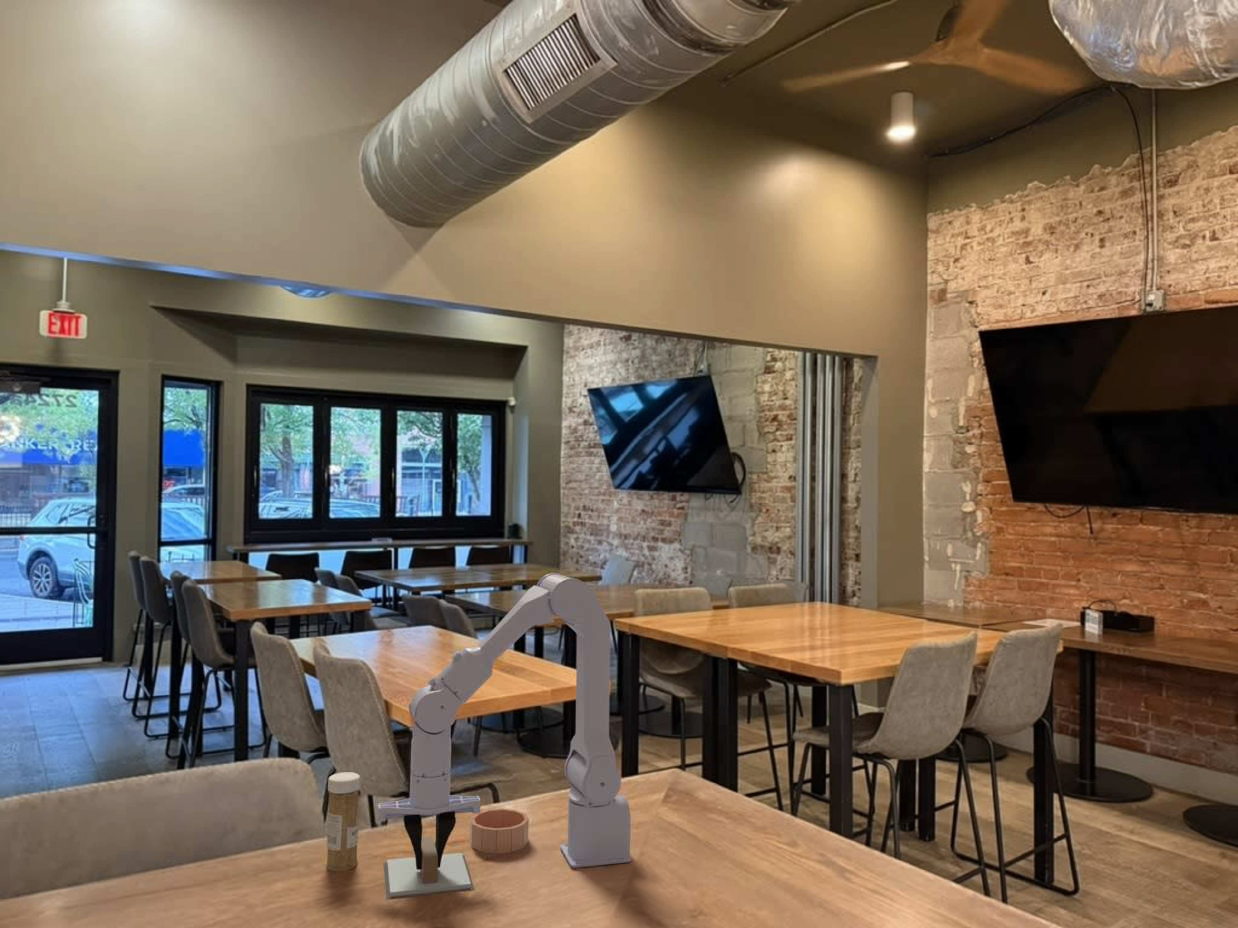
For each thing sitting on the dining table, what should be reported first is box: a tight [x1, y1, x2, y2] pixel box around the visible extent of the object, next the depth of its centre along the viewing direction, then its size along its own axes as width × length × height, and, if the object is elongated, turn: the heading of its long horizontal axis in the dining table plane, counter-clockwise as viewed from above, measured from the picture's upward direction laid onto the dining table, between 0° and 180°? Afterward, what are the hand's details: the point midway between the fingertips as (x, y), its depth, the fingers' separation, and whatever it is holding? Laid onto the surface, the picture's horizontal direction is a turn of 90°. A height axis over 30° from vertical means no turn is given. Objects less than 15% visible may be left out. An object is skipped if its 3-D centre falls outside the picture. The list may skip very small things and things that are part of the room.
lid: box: [386, 835, 471, 897], centre depth 128 cm, size 11×11×4 cm
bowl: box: [469, 808, 530, 855], centre depth 141 cm, size 9×9×4 cm
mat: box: [383, 854, 475, 900], centre depth 128 cm, size 12×12×1 cm
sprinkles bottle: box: [325, 771, 361, 872], centre depth 132 cm, size 5×5×13 cm
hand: (428, 865), depth 128 cm, fingers closed on lid, 2 cm apart
